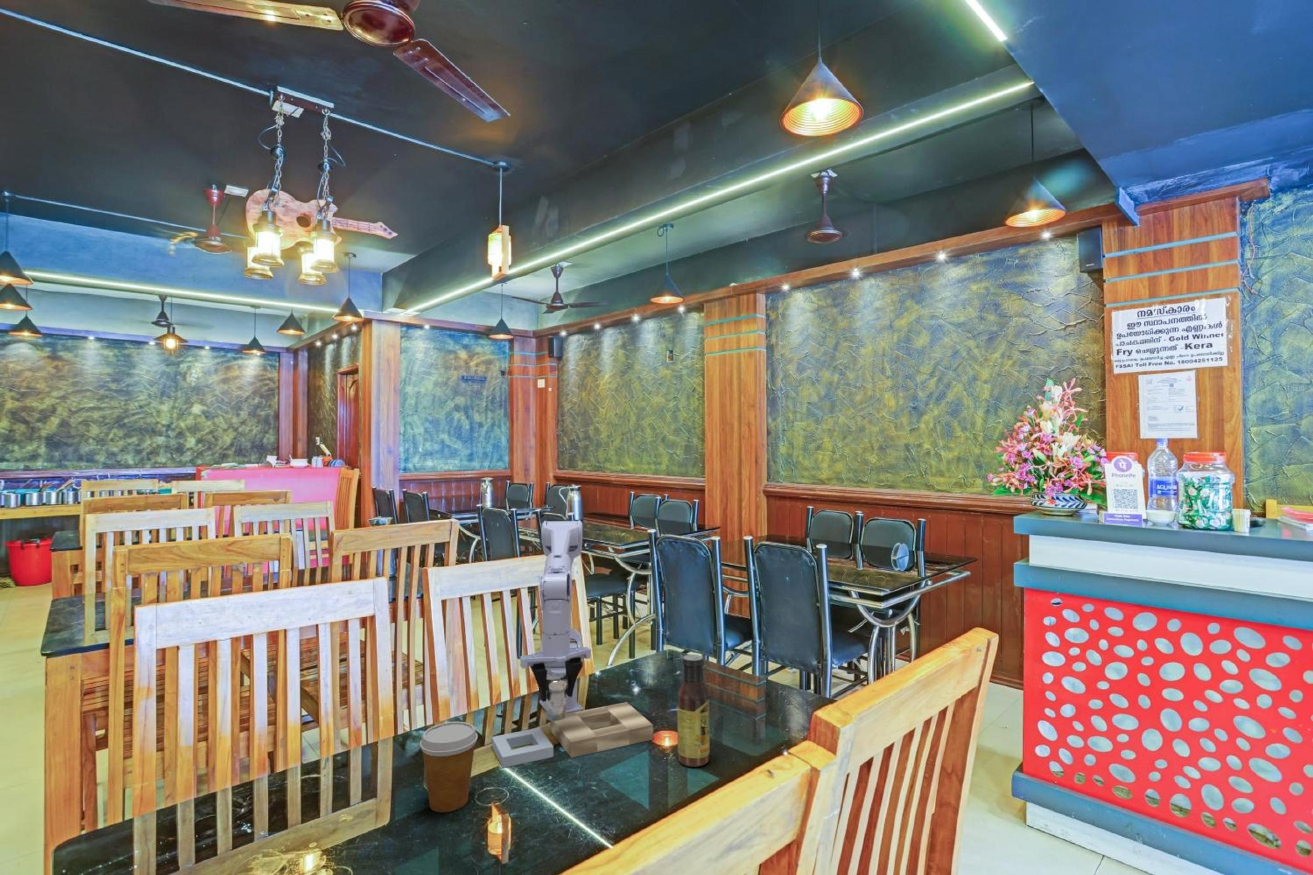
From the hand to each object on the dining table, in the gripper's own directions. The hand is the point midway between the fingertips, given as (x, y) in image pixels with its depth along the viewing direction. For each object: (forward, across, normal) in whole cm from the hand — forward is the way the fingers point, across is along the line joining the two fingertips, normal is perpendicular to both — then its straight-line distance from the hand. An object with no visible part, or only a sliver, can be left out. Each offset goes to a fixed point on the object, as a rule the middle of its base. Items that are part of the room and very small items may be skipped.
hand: (556, 697), depth 131 cm
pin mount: (+10, -7, 0) cm, 12 cm away
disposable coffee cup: (+10, -23, -13) cm, 28 cm away
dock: (+10, +10, 0) cm, 14 cm away
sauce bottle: (+10, +22, -19) cm, 31 cm away
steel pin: (+4, 0, 0) cm, 4 cm away
